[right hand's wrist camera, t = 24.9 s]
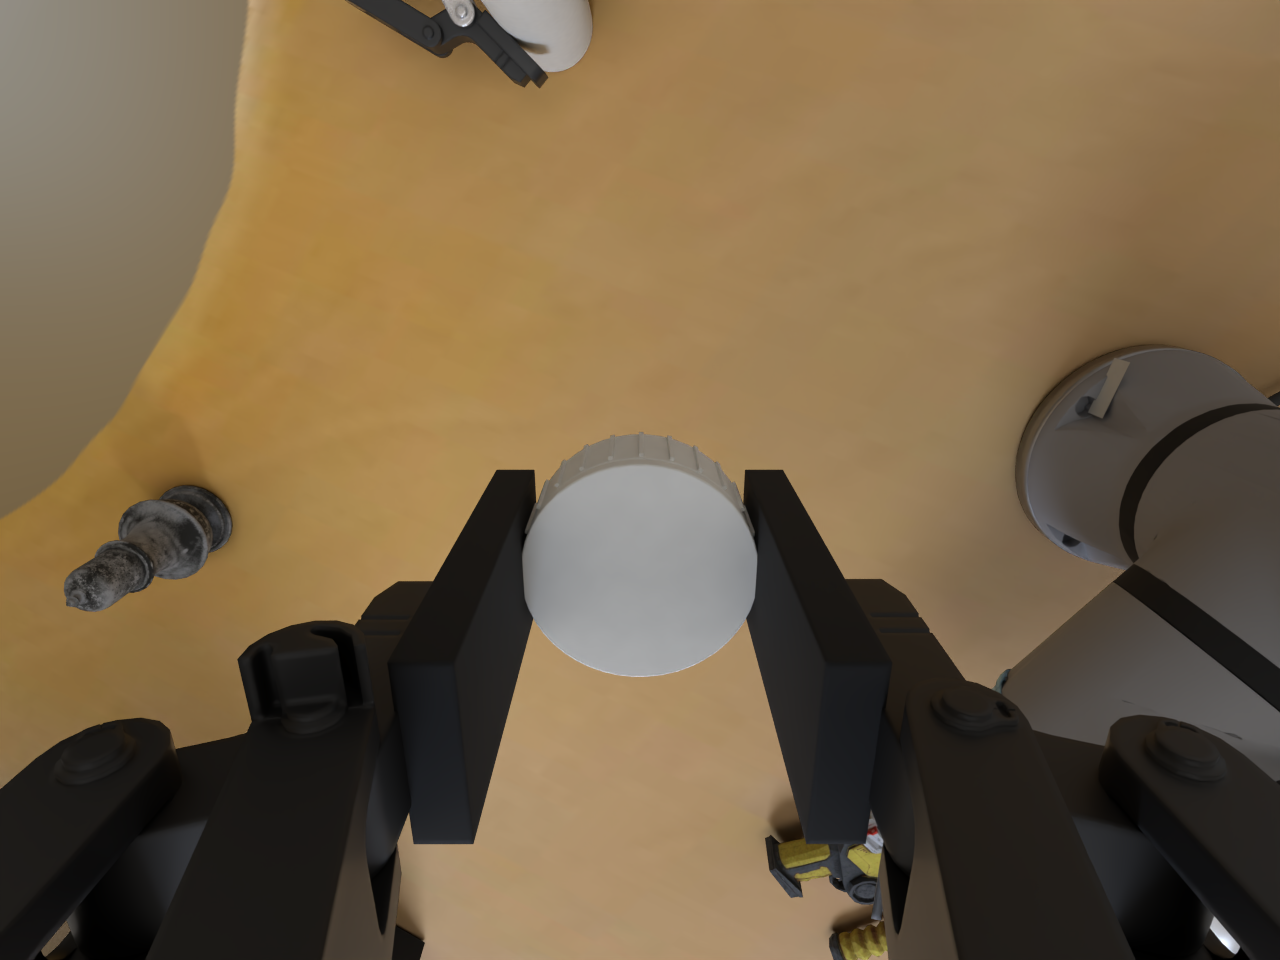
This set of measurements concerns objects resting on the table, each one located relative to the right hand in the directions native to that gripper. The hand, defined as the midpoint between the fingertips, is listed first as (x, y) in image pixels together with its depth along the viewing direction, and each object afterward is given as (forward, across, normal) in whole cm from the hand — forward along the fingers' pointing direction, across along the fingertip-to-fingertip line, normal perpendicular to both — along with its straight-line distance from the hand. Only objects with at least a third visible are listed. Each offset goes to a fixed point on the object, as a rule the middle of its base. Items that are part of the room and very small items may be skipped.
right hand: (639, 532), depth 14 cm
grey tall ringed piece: (+34, +32, +14) cm, 49 cm away
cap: (-2, 0, 0) cm, 2 cm away
